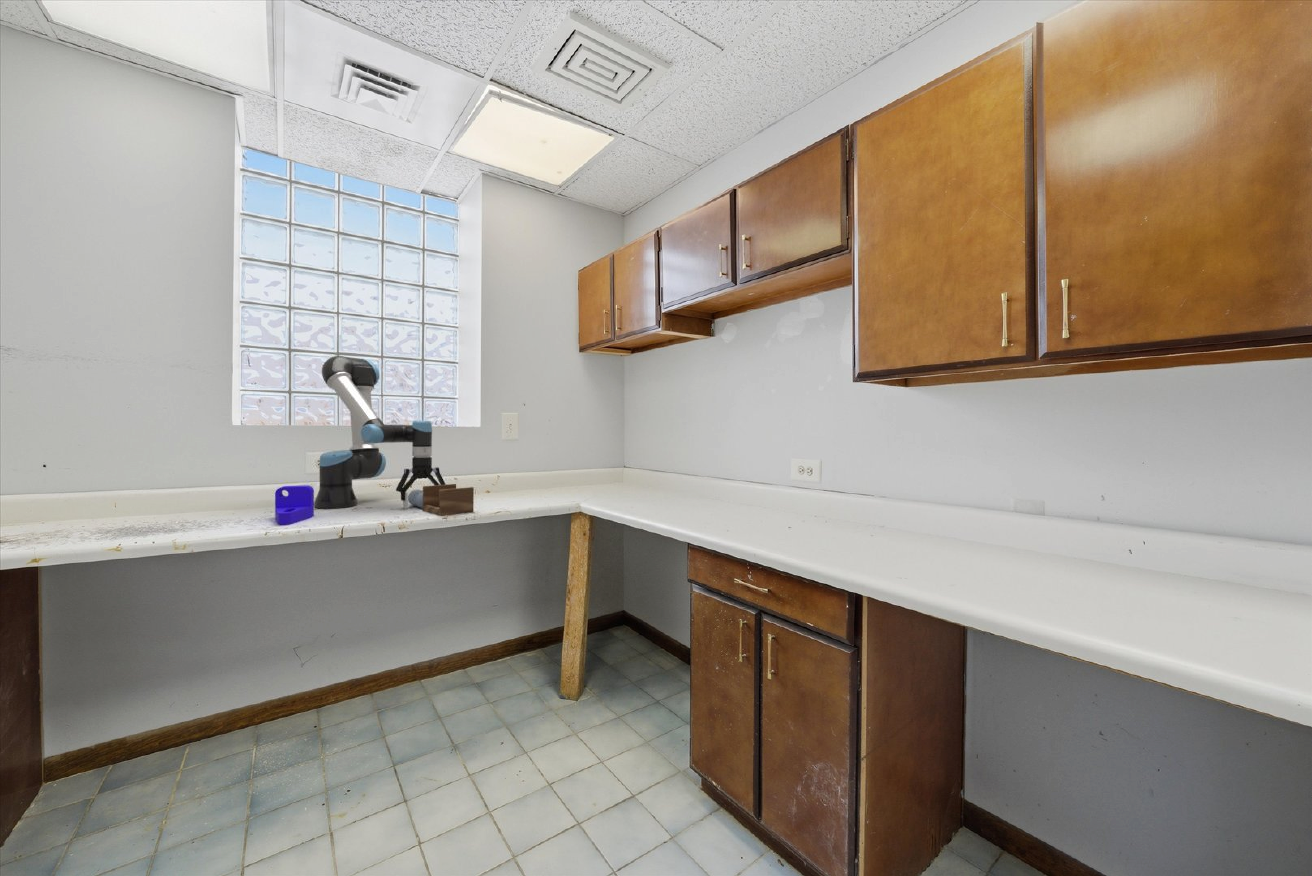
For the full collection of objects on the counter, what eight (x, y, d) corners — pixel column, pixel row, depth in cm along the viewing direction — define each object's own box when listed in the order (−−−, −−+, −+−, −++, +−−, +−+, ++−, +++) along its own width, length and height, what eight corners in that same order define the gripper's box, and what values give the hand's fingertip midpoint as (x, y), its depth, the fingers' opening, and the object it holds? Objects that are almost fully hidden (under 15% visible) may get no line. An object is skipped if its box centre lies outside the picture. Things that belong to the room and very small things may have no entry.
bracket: (278, 517, 183) (278, 486, 182) (313, 515, 187) (313, 485, 187) (264, 526, 166) (264, 492, 166) (303, 524, 171) (303, 490, 171)
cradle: (422, 510, 201) (422, 486, 201) (454, 507, 211) (454, 483, 211) (440, 516, 190) (440, 490, 190) (473, 511, 200) (473, 487, 200)
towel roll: (407, 506, 212) (407, 490, 212) (424, 504, 217) (424, 489, 217) (419, 509, 204) (419, 492, 203) (436, 508, 209) (436, 491, 209)
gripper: (394, 458, 198) (394, 510, 198) (454, 456, 216) (454, 504, 217) (387, 457, 203) (387, 508, 204) (446, 455, 222) (446, 502, 222)
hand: (421, 506), depth 210 cm, fingers open, 13 cm apart
